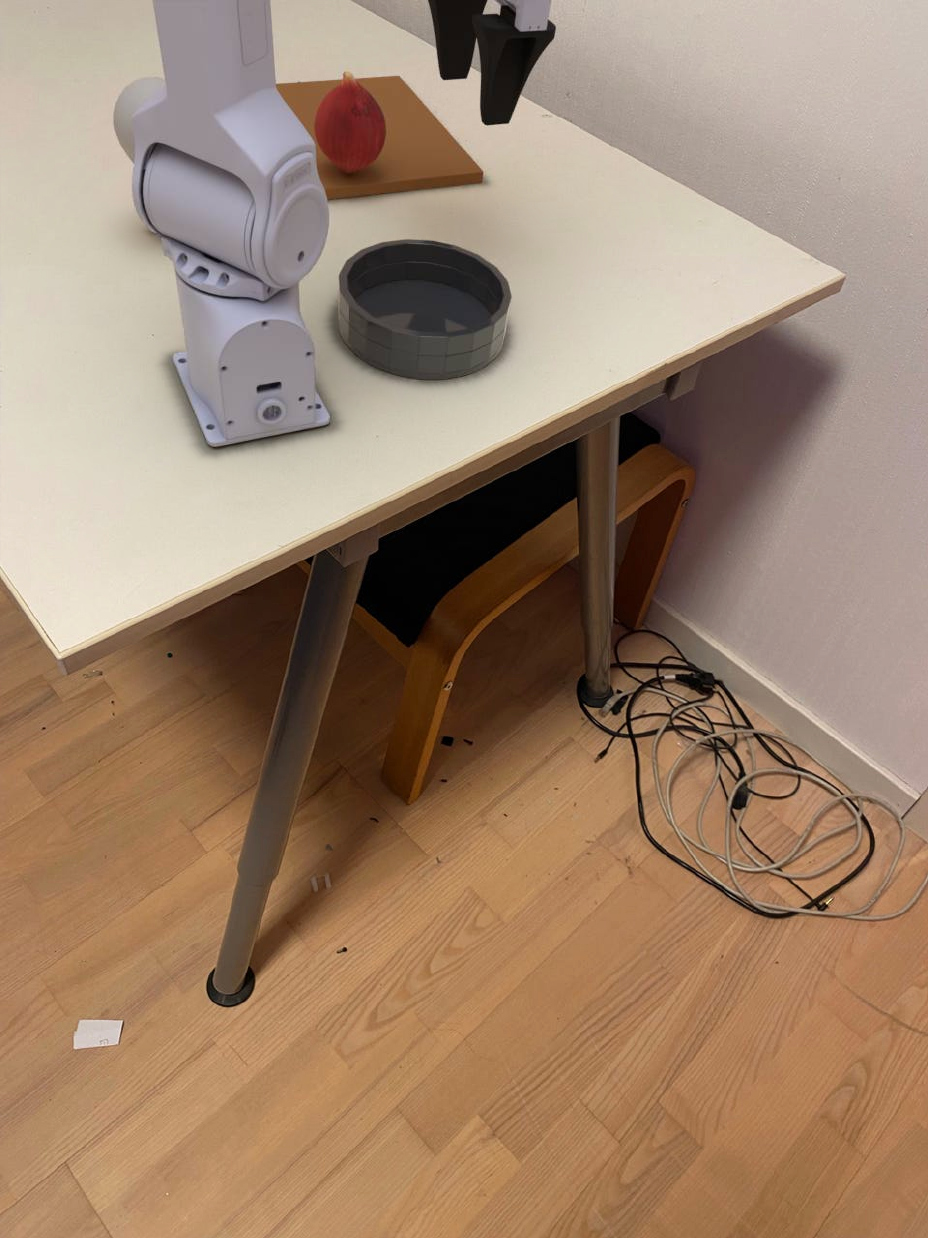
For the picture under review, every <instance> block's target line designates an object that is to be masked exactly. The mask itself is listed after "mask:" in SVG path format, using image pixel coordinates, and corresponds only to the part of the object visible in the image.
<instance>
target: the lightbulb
mask: <svg viewBox="0 0 928 1238" xmlns="http://www.w3.org/2000/svg"><path fill="white" fill-rule="evenodd" d="M165 85H166V82H165V78H162V77H158V76H145V77H141V78H138V79H136V80H134V81H132V82H130V83H129V84H127V85H126V86H125V87H124V88H123V89H122V91H121V92H120V94H119V95H118V98H117V100H116V101H115V104H114V109H113V118H112V119H113V120H112V121H113V123H112V124H113V129H114V132H115V136H116V138H117V140H118V143H119V145H120V147H121V148H122V150H123V152H124V153H125V154H126V156H127V157H128V158H129V160H130V161H131V162H132V164H133V165H134V161H135V138H134V131H133V126H132V121H131V118H132V116H133V114H134V113H135V112H136V111H137V110H138V108H139V107H140V106H141V105H142V104H143V103H144V101H145V100H146V99H147V98H149V97H150V96H151V95H152V94H153V93H155V92H156V91H158V90H159V89H161V88H162V87H163V86H165Z"/></svg>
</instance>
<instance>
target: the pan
mask: <svg viewBox="0 0 928 1238" xmlns="http://www.w3.org/2000/svg"><path fill="white" fill-rule="evenodd" d="M337 298H338V301H337V302H338V303H337V304H338V305H337V307H338V329H339V333H340V336H341V339H342V340H343V342H344V343H345V344H346V346H347V347H348V349H350V351H351V352H353V354H355V355H356V356H357V357H358V358H359V359H361V360H362V361H364V362H365V363H367V364H368V365H370V366H373V367H374V368H377V370H378V369H379V370H381V371H384V372H387V373H389V374H393V375H396V376H399V377H404V378H410V379H417V380H432V381H433V380H434V381H435V380H449V379H454V378H456V379H457V378H460V377H464V376H467V375H470V374H473V373H475V372H478V371H480V370H481V369H483V368H485V367H486V366H489V364H490V363H492V362H493V361H494V360H495V359H496V358H497V356H498V355H499V353H500V352H501V350H502V348H503V345H504V340H505V336H506V333H507V327H508V322H509V316H510V310H511V304H512V298H513V296H512V291H511V288H510V284H509V281H508V279H507V278H506V277H505V276H504V274H503V273H502V272H501V270H499V268H498V267H497V266H496V265H495V264H493V263H492V262H490V261H488V260H487V259H486V258H484V257H482V256H481V255H480V254H477V253H475V252H474V251H471V250H469V249H468V250H467V248H463V247H460V246H459V245H455V244H451V243H447V242H446V243H445V242H441V241H437V240H433V239H432V240H431V239H414V238H413V239H412V238H411V239H410V238H406V239H405V238H403V239H397V240H390V241H389V240H388V241H381V242H378V243H375V244H372V245H369V246H368V247H365V248H362V249H360V250H358V251H357V252H356V253H354V254H353V255H352V256H350V257H349V258H348V259H347V260H345V262H344V265H343V266H342V268H341V270H340V272H339V273H338V297H337Z"/></svg>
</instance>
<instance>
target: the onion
mask: <svg viewBox="0 0 928 1238" xmlns="http://www.w3.org/2000/svg"><path fill="white" fill-rule="evenodd" d="M342 79H343V80H342V83H341V84H340V85H338V86H336V87H335V88H334V89H332V90H331V91H330V92H329V93H328V94H327V95H326V96H325V97H324V98H323V100H322V102H321V104H320V106H319V108H318V110H317V113H316V117H315V123H314V129H315V136H316V139H317V142H318V145H319V147H320V148H321V150H322V152H323V153H324V154H325V155H326V156H327V157H328V158H329V159H330V160H331V161H332V162H333V163H334V164H335V165H336V166H337V167H338V168H339V169H340V170H341V171H342V172H343V173H344V174H347V175H351V174H353V173H355V172H358V171H360V170H361V169H363V168H365V167H367V166H368V165H370V164H371V163H372V162H373V161H375V160H376V159H377V157H378V156H379V154H380V152H381V150H382V148H383V145H384V142H385V136H386V123H385V119H384V115H383V112H382V110H381V108H380V106H379V105H378V103H377V102H376V100H375V99H374V98H373V97H372V95H371V94H370V93H369V92H368V91H367V90H366V89H365V88H364V87H362V86H361V85H360V83H359V82H357V81H356V80H355V79H356V77H355V76H354V74H353V73H352V72H350V71H344V72H343V73H342Z"/></svg>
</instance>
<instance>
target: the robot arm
mask: <svg viewBox="0 0 928 1238" xmlns="http://www.w3.org/2000/svg"><path fill="white" fill-rule="evenodd" d="M488 1H489V0H427V2H428V7H429V9H430V14H431V19H432V24H433V32H434V40H435V48H436V57H437V58H436V59H437V66H438V72H439V77H440V78H441V80H442V81H453V80H454V81H455V80H467V79H468V76H469V73H470V70H471V67H472V63H473V58H474V53H475V48H476V43H477V48H478V53H479V65H480V92H479V93H480V94H479V113H480V119H481V122H482V123H483V125H484V126H496V125H497V126H498V125H507V124H508V125H509V124H510V122H511V120H512V117H513V115H514V113H515V111H516V108H517V105H518V103H519V100H520V97H521V94H522V92H523V90H524V87H525V85H526V83H527V81H528V79H529V76H530V74H531V72H532V70H533V69H534V67H535V65H536V63H538V61H539V59H540V57H541V56H542V55H543V53H544V52H545V51H546V49H547V48H548V46H549V45H550V44H551V43H552V42H553V40H554V39H555V36H556V30H557V27H556V25H555V23H553V21H551V20H550V19H549V17H550V12H551V11H550V10H551V5H552V0H494V1H495V2H496V3H497V4H498V5H499V6H500V9H499V13H484V12H485V8H486V6H487V3H488ZM271 5H272V4H271V0H152V6H153V12H154V20H155V25H156V30H157V38H158V43H159V51H160V57H161V63H162V69H163V75H164V76H163V77H164V79H165V82H166V85H165V86H163V87H162V88H161V89H159V90H158V91H156V92H155V93H153V94H152V95H151V96H150V97H149V98H147V99H146V100H145V101H144V103H143V104H142V105H141V106H140V107H139V108H138V110H137V111H136V112H135V113H134V114H133V116H132V118H131V121H132V126H133V131H134V138H135V161H134V164H133V168H132V176H131V194H132V201H133V205H134V208H135V211H136V214H137V215H138V218H139V219H140V222H142V224H143V225H144V227H146V228H147V229H148V230H150V232H152V233H154V234H156V235H159V236H160V239H161V240H160V242H161V246H162V248H161V249H162V253H163V256H164V257H166V258H168V259H169V260H170V261H171V262H172V264H173V268H174V276H175V281H176V282H175V283H176V289H177V295H178V296H177V297H178V302H179V311H180V317H181V322H182V323H181V325H182V331H183V337H184V345H185V350H184V351H179V352H176V353H174V354H173V356H172V361H173V364H174V367H175V369H176V371H177V374H178V377H179V379H180V381H181V384H182V385H183V388H184V391H185V393H186V396H187V397H188V400H189V403H190V405H191V408H192V410H193V412H194V415H195V417H196V420H197V421H198V424H199V427H200V429H201V432H202V433H203V436H204V439H205V441H206V443H207V445H208V446H210V447H213V448H214V447H215V448H218V447H221V446H227V445H233V444H237V443H238V444H239V443H243V442H247V441H252V440H257V439H262V438H267V437H273V436H277V435H282V434H288V433H292V432H296V431H302V430H309V429H313V428H318V427H323V426H327V425H328V424H329V423H330V422H331V415H330V413H329V411H328V410H327V408H326V405H325V404H324V402H323V400H322V398H321V396H320V395H319V393H318V391H317V389H316V350H315V349H316V348H315V344H314V340H313V338H312V335H311V334H310V331H309V329H308V328H307V326H306V324H305V323H306V322H305V321H304V319H303V316H302V314H301V309H300V307H301V306H300V282H301V281H302V280H303V279H305V278H306V277H307V276H308V275H309V274H310V273H311V271H312V270H313V269H314V268H315V266H316V265H317V263H318V261H319V260H320V257H321V256H322V253H323V251H324V249H325V246H326V242H327V239H328V235H329V228H330V209H329V202H328V200H327V196H326V193H325V189H324V187H323V185H322V183H321V181H320V178H319V175H318V171H317V163H316V145H315V143H314V141H313V139H312V137H311V136H310V135H309V133H308V132H307V130H306V129H305V128H304V126H303V125H302V123H301V122H300V121H299V119H298V118H297V117H296V115H295V114H294V113H293V111H292V110H291V109H290V107H289V106H288V105H287V103H286V102H285V101H284V99H283V98H282V96H281V95H280V93H279V92H278V90H277V88H276V84H277V80H276V65H275V51H274V35H273V19H272V6H271Z"/></svg>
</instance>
